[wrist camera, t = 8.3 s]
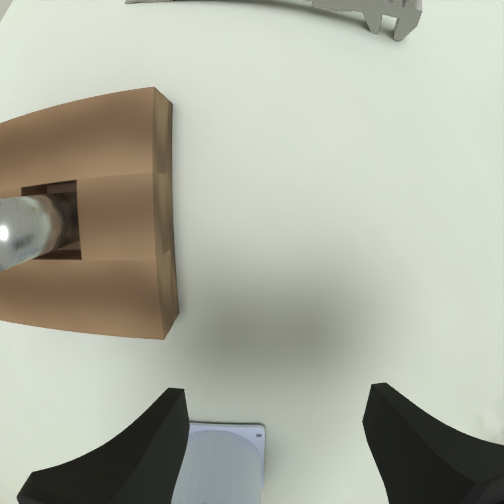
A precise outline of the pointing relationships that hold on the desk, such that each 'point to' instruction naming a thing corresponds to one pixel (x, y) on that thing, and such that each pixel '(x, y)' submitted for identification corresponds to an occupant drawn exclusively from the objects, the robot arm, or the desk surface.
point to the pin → (36, 226)
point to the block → (97, 215)
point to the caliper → (369, 12)
